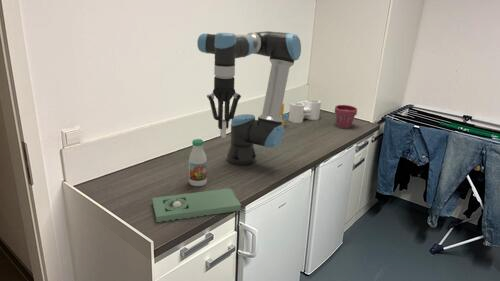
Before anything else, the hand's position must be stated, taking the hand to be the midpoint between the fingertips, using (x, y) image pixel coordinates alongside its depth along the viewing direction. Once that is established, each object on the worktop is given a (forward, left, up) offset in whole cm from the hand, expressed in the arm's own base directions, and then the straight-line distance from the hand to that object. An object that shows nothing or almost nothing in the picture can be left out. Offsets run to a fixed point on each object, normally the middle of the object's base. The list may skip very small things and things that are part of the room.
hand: (223, 136), depth 149 cm
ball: (+20, +6, -25) cm, 32 cm away
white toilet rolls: (-85, -89, -27) cm, 126 cm away
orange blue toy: (-61, -79, -27) cm, 103 cm away
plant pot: (-104, -70, -27) cm, 128 cm away
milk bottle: (+7, -14, -27) cm, 31 cm away
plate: (+12, +6, -26) cm, 30 cm away
